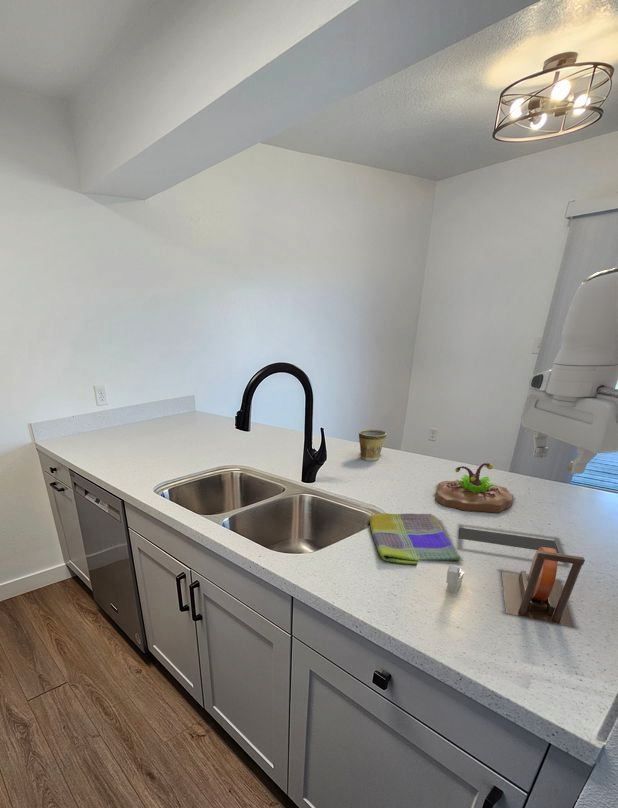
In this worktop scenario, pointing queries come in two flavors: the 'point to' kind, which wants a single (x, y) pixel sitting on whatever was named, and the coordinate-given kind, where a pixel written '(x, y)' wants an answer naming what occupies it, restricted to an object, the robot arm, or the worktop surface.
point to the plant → (474, 493)
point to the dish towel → (411, 538)
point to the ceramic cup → (371, 444)
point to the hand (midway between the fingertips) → (555, 464)
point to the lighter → (454, 579)
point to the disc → (544, 576)
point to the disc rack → (522, 590)
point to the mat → (506, 539)
